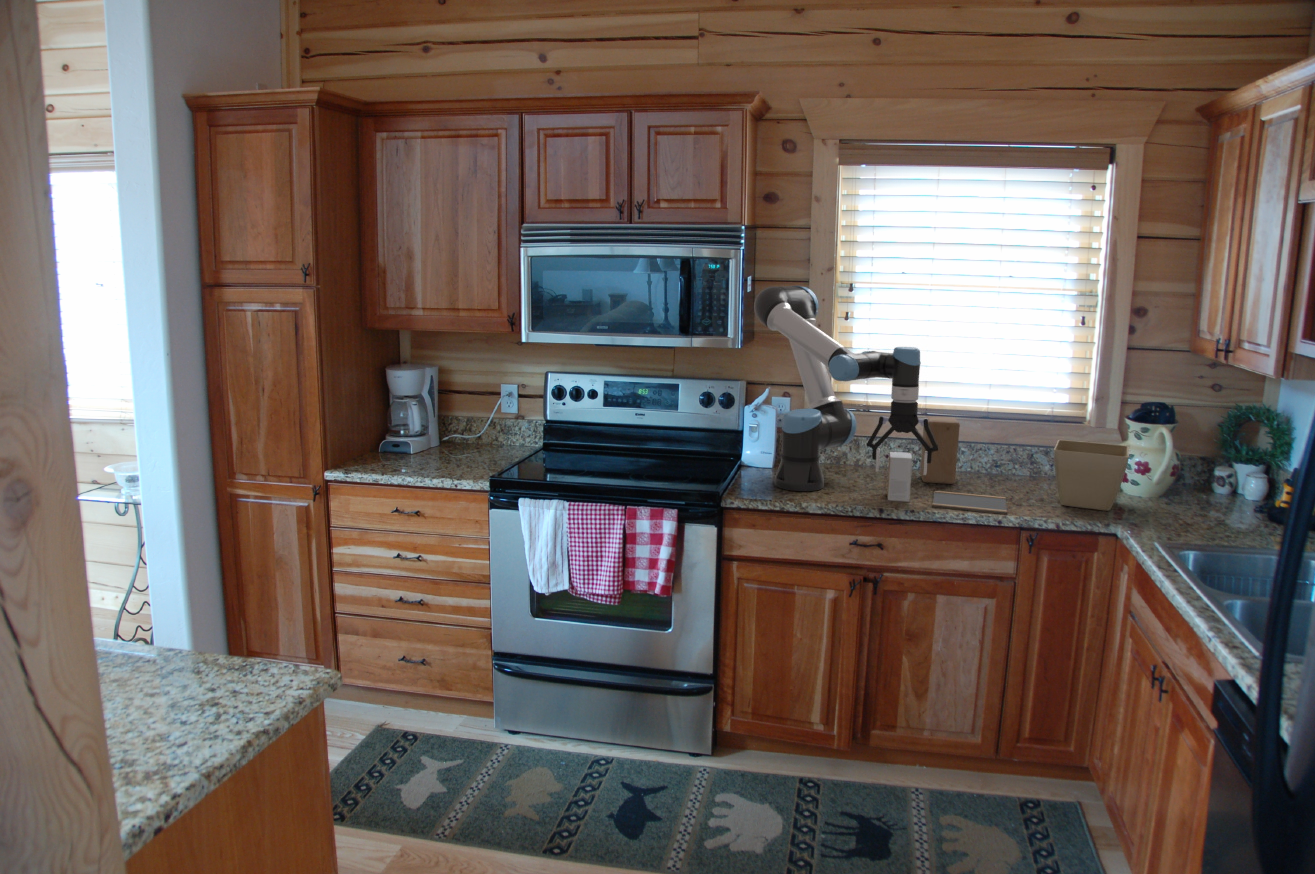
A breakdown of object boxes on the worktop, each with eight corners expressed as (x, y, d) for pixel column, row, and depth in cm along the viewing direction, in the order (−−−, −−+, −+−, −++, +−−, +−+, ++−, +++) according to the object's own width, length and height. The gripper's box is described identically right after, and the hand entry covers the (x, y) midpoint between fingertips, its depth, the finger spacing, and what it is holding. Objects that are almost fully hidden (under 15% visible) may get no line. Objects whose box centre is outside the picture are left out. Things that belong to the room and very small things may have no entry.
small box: (886, 493, 267) (889, 451, 265) (908, 495, 266) (911, 452, 264) (887, 500, 260) (889, 457, 257) (909, 502, 258) (912, 458, 256)
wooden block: (955, 485, 279) (960, 422, 275) (922, 483, 281) (926, 420, 277) (951, 477, 288) (956, 417, 285) (919, 475, 290) (924, 415, 287)
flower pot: (1052, 492, 272) (1058, 438, 268) (1122, 500, 263) (1129, 444, 260) (1047, 507, 255) (1053, 449, 252) (1122, 516, 246) (1129, 457, 243)
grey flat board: (931, 507, 253) (932, 503, 253) (934, 493, 268) (934, 490, 268) (1007, 514, 247) (1007, 511, 247) (1005, 500, 261) (1005, 497, 261)
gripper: (859, 400, 258) (856, 471, 262) (949, 404, 250) (945, 478, 253) (862, 397, 265) (859, 466, 269) (950, 401, 257) (945, 472, 260)
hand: (900, 472), depth 261 cm, fingers open, 13 cm apart
